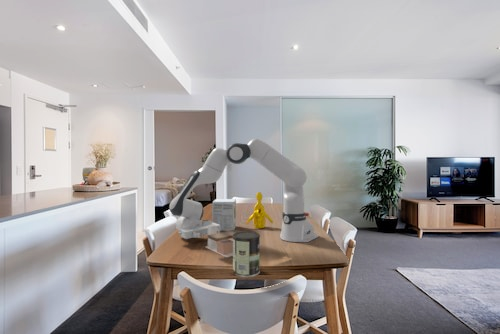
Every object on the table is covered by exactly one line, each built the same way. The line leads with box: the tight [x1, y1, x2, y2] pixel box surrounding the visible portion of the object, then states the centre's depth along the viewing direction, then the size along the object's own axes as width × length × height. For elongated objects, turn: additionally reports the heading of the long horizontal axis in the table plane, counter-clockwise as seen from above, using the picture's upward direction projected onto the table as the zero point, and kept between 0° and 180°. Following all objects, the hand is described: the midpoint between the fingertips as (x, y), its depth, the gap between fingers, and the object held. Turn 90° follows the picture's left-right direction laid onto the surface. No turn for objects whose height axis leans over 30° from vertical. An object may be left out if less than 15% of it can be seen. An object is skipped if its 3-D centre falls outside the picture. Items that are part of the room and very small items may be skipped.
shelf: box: [207, 229, 243, 241], centre depth 120 cm, size 15×7×10 cm, turn 130°
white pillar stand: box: [204, 224, 233, 258], centre depth 122 cm, size 6×18×11 cm, turn 40°
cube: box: [217, 239, 233, 256], centre depth 120 cm, size 5×5×5 cm
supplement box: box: [211, 198, 237, 232], centre depth 169 cm, size 13×13×18 cm
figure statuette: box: [245, 191, 275, 230], centre depth 172 cm, size 18×8×22 cm, turn 96°
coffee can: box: [232, 231, 261, 278], centre depth 102 cm, size 10×10×14 cm
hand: (209, 234), depth 130 cm, fingers open, 8 cm apart
